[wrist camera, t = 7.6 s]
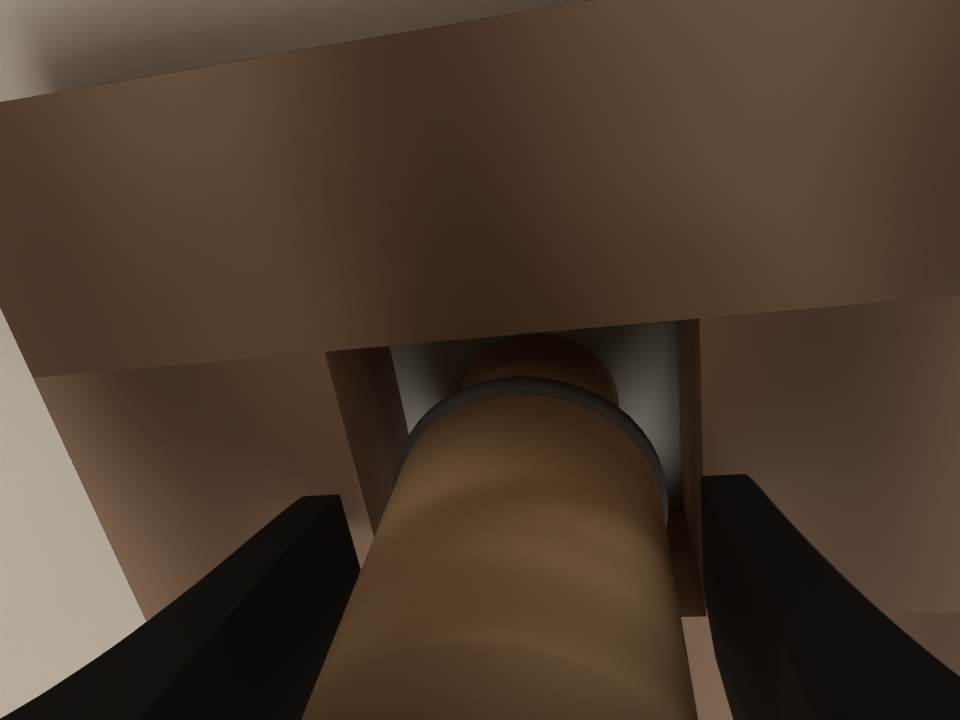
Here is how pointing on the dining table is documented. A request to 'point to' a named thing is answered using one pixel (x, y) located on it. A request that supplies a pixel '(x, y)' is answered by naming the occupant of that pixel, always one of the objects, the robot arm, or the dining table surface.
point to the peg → (517, 560)
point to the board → (512, 270)
